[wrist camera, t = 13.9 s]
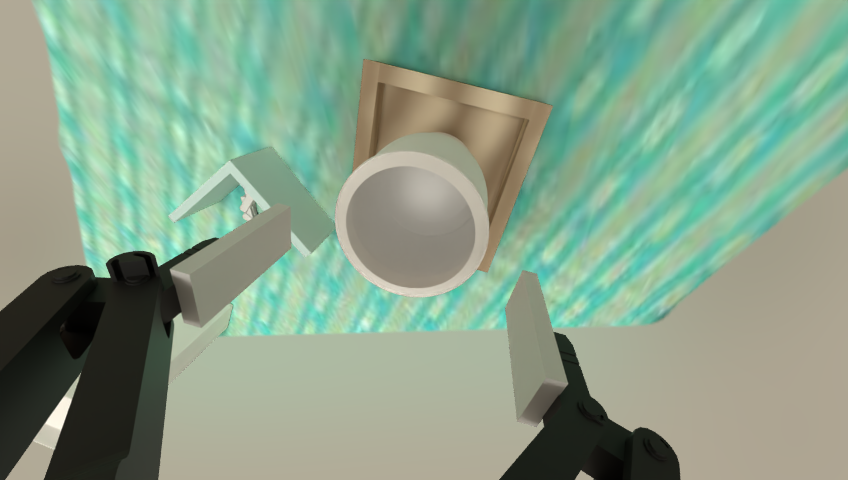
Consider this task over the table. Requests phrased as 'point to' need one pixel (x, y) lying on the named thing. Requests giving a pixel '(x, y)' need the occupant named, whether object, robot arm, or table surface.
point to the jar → (415, 215)
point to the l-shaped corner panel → (264, 196)
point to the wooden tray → (454, 129)
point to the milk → (184, 351)
